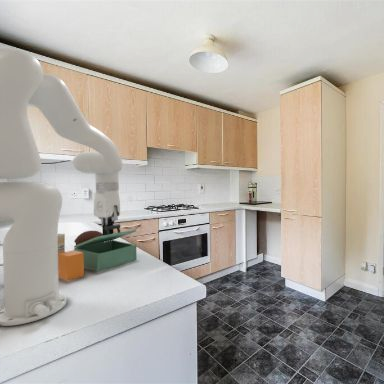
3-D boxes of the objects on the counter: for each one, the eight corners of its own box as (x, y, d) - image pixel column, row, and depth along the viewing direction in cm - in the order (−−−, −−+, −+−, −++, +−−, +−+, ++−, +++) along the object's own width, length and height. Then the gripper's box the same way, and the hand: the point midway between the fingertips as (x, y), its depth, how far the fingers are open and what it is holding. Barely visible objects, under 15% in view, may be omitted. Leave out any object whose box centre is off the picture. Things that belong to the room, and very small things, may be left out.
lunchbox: (136, 261, 93) (136, 244, 93) (97, 273, 80) (97, 254, 80) (113, 255, 100) (113, 240, 100) (74, 266, 87) (74, 248, 87)
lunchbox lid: (136, 231, 93) (134, 220, 93) (97, 238, 80) (94, 226, 80) (113, 239, 100) (111, 230, 100) (74, 248, 87) (72, 236, 87)
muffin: (83, 250, 107) (83, 229, 107) (110, 249, 109) (109, 228, 109) (68, 258, 96) (68, 234, 95) (98, 257, 98) (97, 233, 97)
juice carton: (84, 278, 76) (83, 252, 76) (67, 283, 72) (67, 256, 72) (74, 274, 79) (74, 250, 79) (58, 279, 75) (58, 253, 75)
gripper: (85, 187, 89) (86, 234, 89) (108, 188, 82) (109, 239, 83) (106, 187, 95) (106, 231, 96) (128, 187, 89) (129, 235, 89)
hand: (108, 234), depth 89 cm, fingers closed
